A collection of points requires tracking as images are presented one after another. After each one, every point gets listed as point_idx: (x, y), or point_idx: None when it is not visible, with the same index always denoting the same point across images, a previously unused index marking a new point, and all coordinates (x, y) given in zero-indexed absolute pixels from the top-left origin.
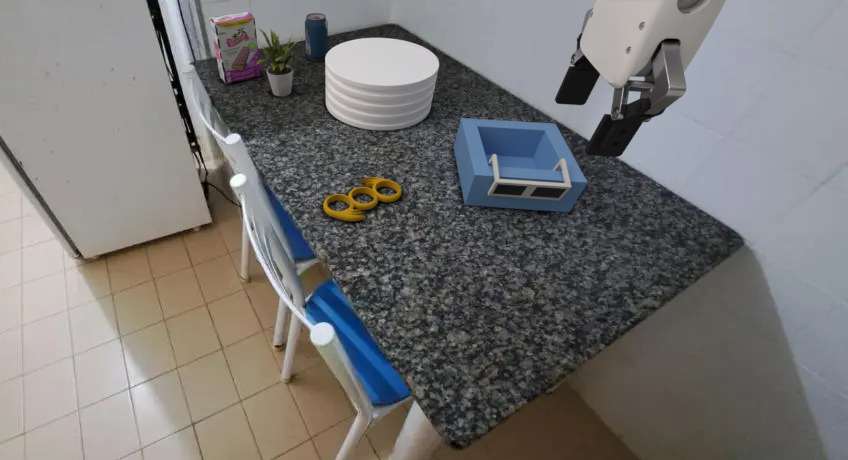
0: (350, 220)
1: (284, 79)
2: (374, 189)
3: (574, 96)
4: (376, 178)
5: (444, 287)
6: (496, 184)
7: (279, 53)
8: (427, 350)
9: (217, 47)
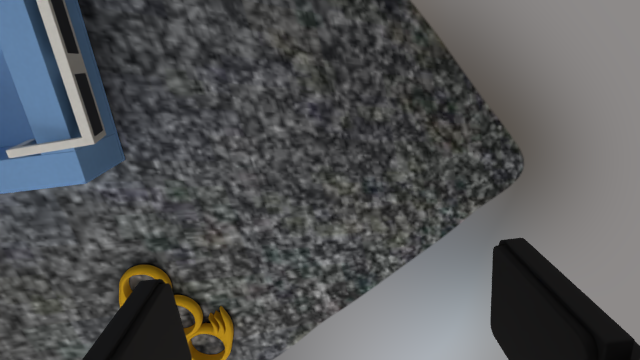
0: (232, 324)
1: None
2: None
3: (169, 346)
4: None
5: (322, 187)
6: (95, 138)
7: None
8: (425, 204)
9: None
